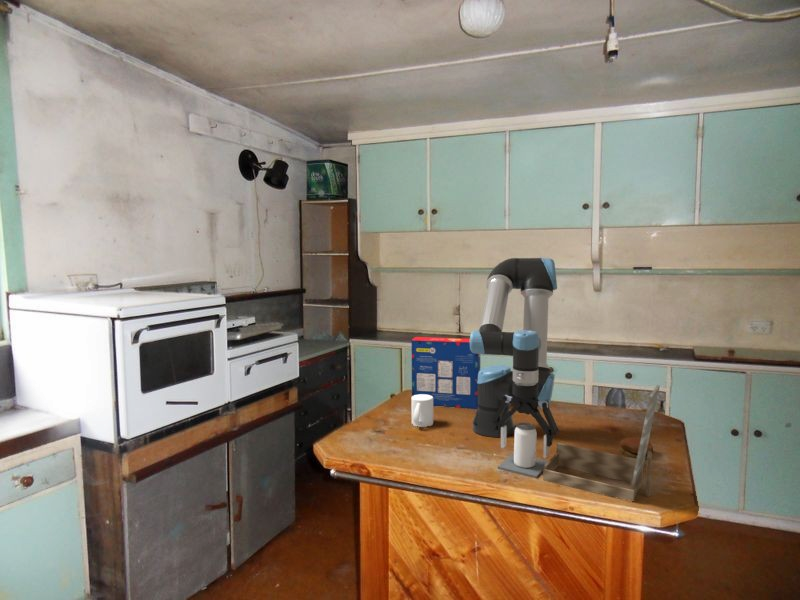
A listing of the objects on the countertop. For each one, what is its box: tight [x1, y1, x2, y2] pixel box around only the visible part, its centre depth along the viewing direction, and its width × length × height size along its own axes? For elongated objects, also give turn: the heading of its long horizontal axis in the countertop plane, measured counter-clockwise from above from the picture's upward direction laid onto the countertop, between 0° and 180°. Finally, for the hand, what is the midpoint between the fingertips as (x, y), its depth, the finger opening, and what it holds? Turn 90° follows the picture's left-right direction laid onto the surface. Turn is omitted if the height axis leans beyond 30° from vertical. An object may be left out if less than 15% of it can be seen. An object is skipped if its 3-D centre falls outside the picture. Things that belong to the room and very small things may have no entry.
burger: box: [619, 437, 655, 459], centre depth 167 cm, size 10×9×5 cm
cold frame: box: [542, 384, 661, 502], centre depth 145 cm, size 28×12×29 cm, turn 55°
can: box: [513, 422, 538, 468], centre depth 158 cm, size 6×6×12 cm
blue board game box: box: [411, 336, 481, 410], centre depth 220 cm, size 28×8×28 cm, turn 76°
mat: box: [497, 453, 549, 479], centre depth 159 cm, size 12×12×1 cm
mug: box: [410, 394, 434, 428], centre depth 196 cm, size 8×10×12 cm
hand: (524, 451), depth 158 cm, fingers open, 13 cm apart
